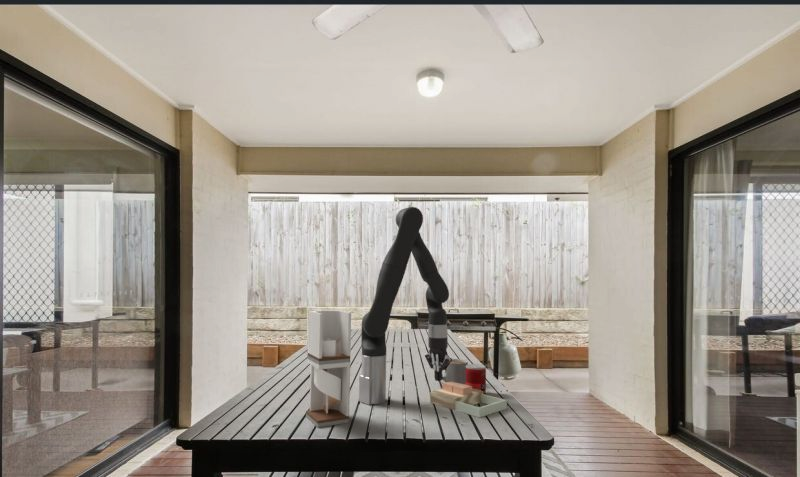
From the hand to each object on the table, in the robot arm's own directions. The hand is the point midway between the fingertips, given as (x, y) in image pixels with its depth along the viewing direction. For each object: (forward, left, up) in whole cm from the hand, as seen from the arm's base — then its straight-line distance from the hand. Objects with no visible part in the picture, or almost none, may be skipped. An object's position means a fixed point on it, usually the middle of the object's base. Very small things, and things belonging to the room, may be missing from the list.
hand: (438, 380), depth 181 cm
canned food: (+15, -7, -6) cm, 17 cm away
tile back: (0, -7, -2) cm, 7 cm away
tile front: (0, -12, -2) cm, 13 cm away
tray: (0, -21, -6) cm, 22 cm away
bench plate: (0, -10, -6) cm, 11 cm away
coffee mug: (+19, +9, -6) cm, 22 cm away
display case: (-48, +4, -6) cm, 49 cm away
